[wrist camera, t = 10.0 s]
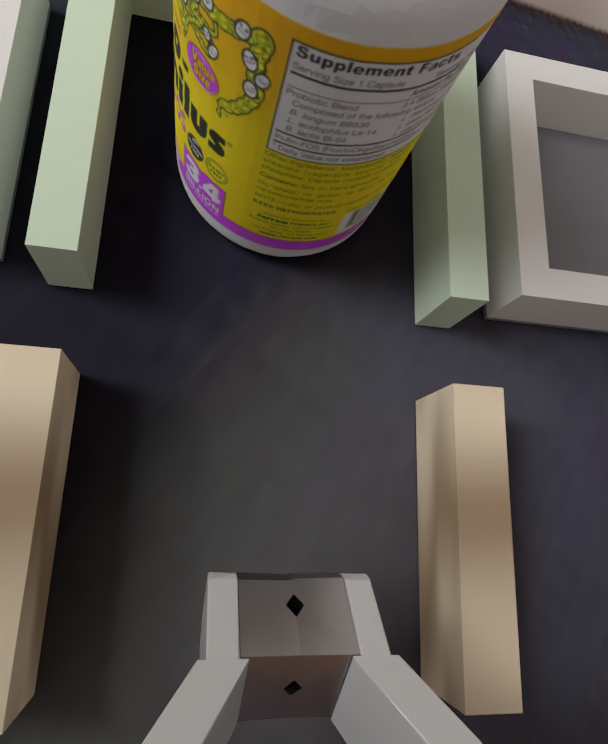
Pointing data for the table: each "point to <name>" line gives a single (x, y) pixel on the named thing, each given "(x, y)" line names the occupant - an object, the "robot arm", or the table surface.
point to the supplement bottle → (309, 107)
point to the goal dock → (95, 145)
